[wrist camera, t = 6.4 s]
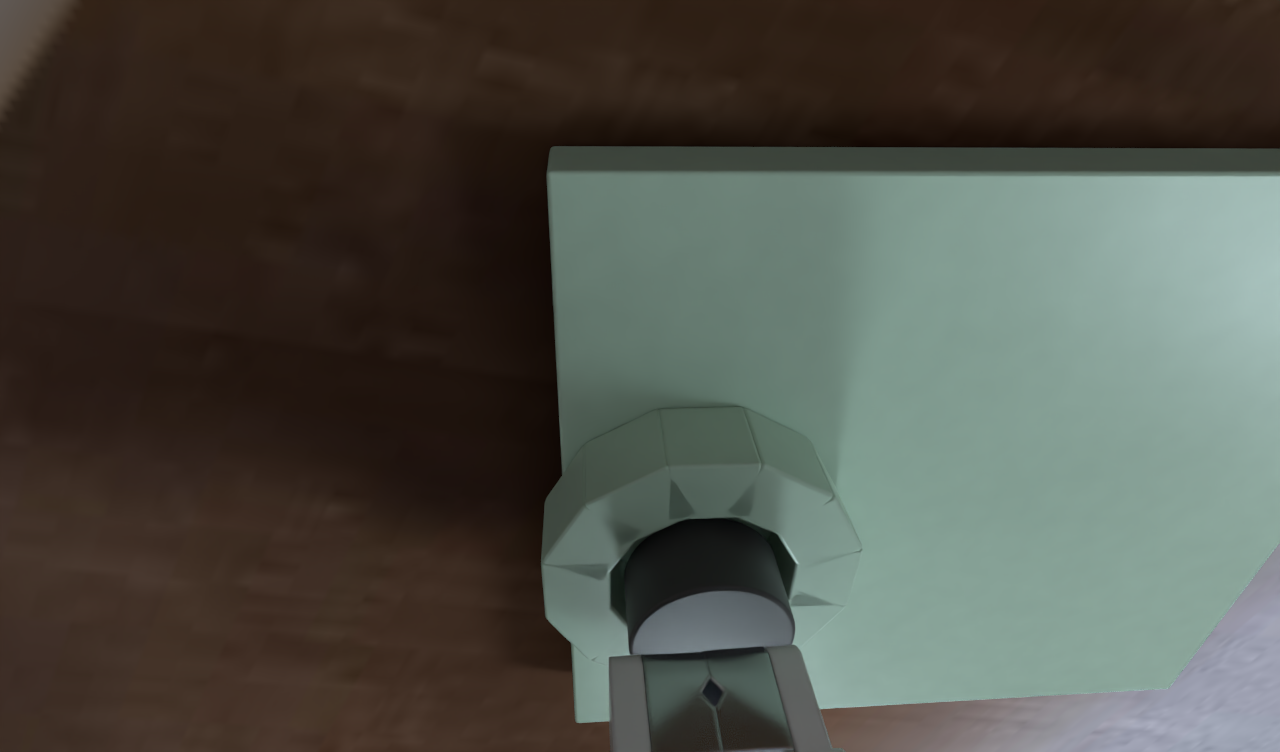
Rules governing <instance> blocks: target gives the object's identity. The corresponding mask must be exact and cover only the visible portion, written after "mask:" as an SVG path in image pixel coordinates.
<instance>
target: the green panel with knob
mask: <svg viewBox="0 0 1280 752" xmlns="http://www.w3.org/2000/svg"><path fill="white" fill-rule="evenodd" d="M546 178H547V197H548V216H549V235H550V254H551V273H552V292H553V311H554V330H555V349H556V368H557V387H558V406H559V425H560V444H561V463H562V476H561V478H560V479H559V481H558V482H557V484H556V485H555V486H554V488H553V489H552V491H551V492H550V494H549V495H548V496H547V498H546V501H545V505H544V522H543V538H542V555H541V570H542V582H543V594H544V606H545V617H546V619H548V621H549V622H550V623H551V624H552V625H553V626H554V627H555V628H556V629H557V630H558V631H559V632H560V633H561V634H562V635H563V636H564V637H565V638H566V639H567V640H568V641H569V642H570V643H571V653H572V672H573V691H574V710H575V721H576V722H577V723H585V722H602V721H609V657H612V656H626V655H630V652H629V645H628V630H627V615H626V600H625V585H624V572H625V568H626V564H627V562H628V560H629V558H630V556H631V554H632V553H633V551H634V550H635V548H636V547H637V546H638V545H639V544H640V543H641V542H642V541H643V540H644V539H646V538H647V537H648V536H650V535H651V534H653V533H655V532H657V531H659V530H661V529H664V528H666V527H668V526H670V525H673V524H675V523H677V522H680V521H684V520H689V519H710V518H723V519H729V520H733V521H737V522H740V523H743V524H745V525H747V526H749V527H751V528H753V529H754V530H756V531H757V532H758V533H760V534H761V535H762V536H763V537H764V538H765V539H766V540H767V542H768V543H769V544H770V546H771V548H772V550H773V552H774V556H775V559H776V562H777V565H778V569H779V572H780V575H781V578H782V582H783V585H784V588H785V591H786V594H787V598H788V601H789V604H790V607H791V611H792V614H793V617H794V621H795V636H794V640H793V643H792V645H796V646H797V647H798V648H799V650H800V651H801V653H802V656H803V659H804V662H805V665H806V668H807V671H808V674H809V677H810V680H811V684H812V687H813V690H814V693H815V696H816V699H817V702H818V705H819V708H820V709H826V708H843V707H860V706H877V705H895V704H912V703H929V702H946V701H963V700H981V699H998V698H1015V697H1032V696H1049V695H1067V694H1084V693H1101V692H1118V691H1135V690H1153V689H1167V688H1169V687H1170V686H1171V685H1172V684H1173V682H1174V681H1175V680H1176V678H1177V677H1178V676H1179V674H1180V673H1181V672H1182V671H1183V669H1184V668H1185V667H1186V665H1187V664H1188V663H1189V661H1190V660H1191V659H1192V657H1193V656H1194V655H1195V653H1196V652H1197V651H1198V649H1199V648H1200V647H1201V646H1202V644H1203V643H1204V642H1205V640H1206V639H1207V638H1208V636H1209V635H1210V634H1211V632H1212V631H1213V630H1214V628H1215V627H1216V626H1217V624H1218V623H1219V622H1220V621H1221V619H1222V618H1223V617H1224V615H1225V614H1226V613H1227V611H1228V610H1229V609H1230V607H1231V606H1232V605H1233V603H1234V602H1235V601H1236V600H1237V598H1238V597H1239V596H1240V594H1241V593H1242V592H1243V590H1244V589H1245V588H1246V586H1247V585H1248V584H1249V582H1250V581H1251V580H1252V578H1253V577H1254V576H1255V575H1256V573H1257V572H1258V571H1259V569H1260V568H1261V567H1262V565H1263V564H1264V563H1265V561H1266V560H1267V559H1268V557H1269V556H1270V555H1271V553H1272V552H1273V551H1274V550H1275V548H1276V547H1277V546H1278V544H1279V543H1280V149H1247V148H943V147H639V146H554V147H551V149H550V152H549V159H548V167H547V174H546Z"/></svg>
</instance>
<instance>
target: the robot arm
mask: <svg viewBox="0 0 1280 752" xmlns="http://www.w3.org/2000/svg"><path fill="white" fill-rule="evenodd" d="M609 732H610V752H845V751H844V750H843V749H842V748H832V746H831V743H830V740H829V736H828V733H827V730H826V727H825V724H824V721H823V718H822V715H821V712H820V708H819V705H818V702H817V699H816V696H815V693H814V690H813V687H812V684H811V680H810V677H809V674H808V671H807V668H806V665H805V662H804V659H803V656H802V653H801V651H800V650H799V648H798V647H797V646H796V645H783V646H770V647H763V646H758V647H746V648H734V649H721V650H709V651H703V652H688V653H669V654H651V655H626V656H612V657H609Z"/></svg>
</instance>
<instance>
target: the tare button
mask: <svg viewBox="0 0 1280 752" xmlns="http://www.w3.org/2000/svg"><path fill="white" fill-rule="evenodd" d="M624 585H625V600H626V615H627V630H628V645H629V652H630V655H651V654H669V653H688V652H703V651H709V650H721V649H734V648H746V647H758V646H763V647H770V646H783V645H792V643H793V640H794V636H795V621H794V617H793V614H792V611H791V607H790V604H789V601H788V598H787V594H786V591H785V588H784V585H783V582H782V578H781V575H780V572H779V569H778V565H777V562H776V559H775V556H774V552H773V550H772V548H771V546H770V544H769V543H768V542H767V540H766V539H765V538H764V537H763V536H762V535H761V534H760V533H758V532H757V531H756V530H754V529H753V528H751V527H749V526H747V525H745V524H743V523H740V522H737V521H733V520H729V519H723V518H710V519H689V520H684V521H680V522H677V523H675V524H673V525H670V526H668V527H666V528H664V529H661V530H659V531H657V532H655V533H653V534H651V535H650V536H648V537H647V538H646V539H644V540H643V541H642V542H641V543H640V544H639V545H638V546H637V547H636V548H635V550H634V551H633V553H632V554H631V556H630V558H629V560H628V562H627V564H626V568H625V572H624Z"/></svg>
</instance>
